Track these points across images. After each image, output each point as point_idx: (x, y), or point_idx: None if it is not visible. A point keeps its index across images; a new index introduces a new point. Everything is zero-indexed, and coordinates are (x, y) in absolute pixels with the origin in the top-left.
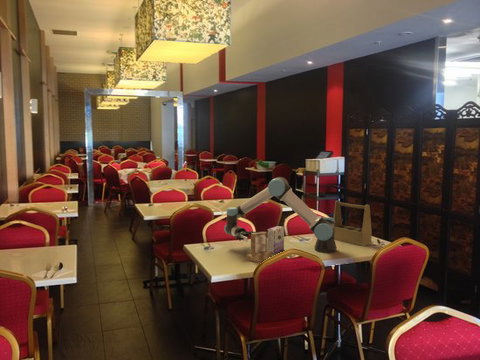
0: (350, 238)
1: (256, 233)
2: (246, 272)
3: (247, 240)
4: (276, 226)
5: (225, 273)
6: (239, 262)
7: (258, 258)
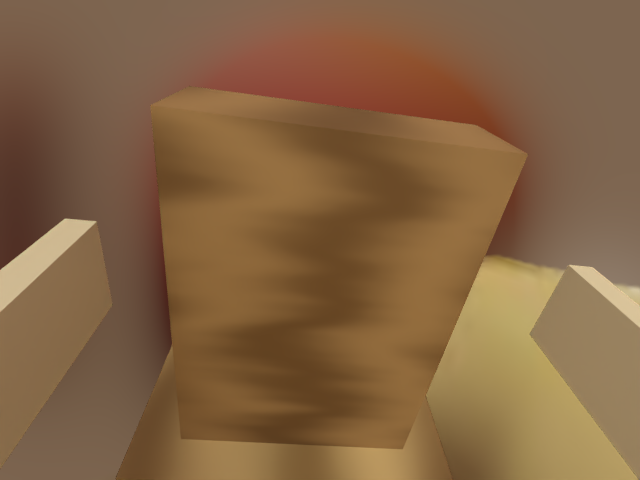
0: None
1: (406, 123)
2: (498, 264)
3: (539, 317)
4: None
5: None
6: (542, 445)
7: None
